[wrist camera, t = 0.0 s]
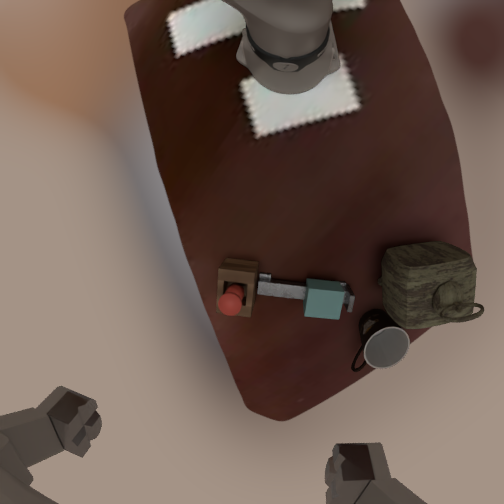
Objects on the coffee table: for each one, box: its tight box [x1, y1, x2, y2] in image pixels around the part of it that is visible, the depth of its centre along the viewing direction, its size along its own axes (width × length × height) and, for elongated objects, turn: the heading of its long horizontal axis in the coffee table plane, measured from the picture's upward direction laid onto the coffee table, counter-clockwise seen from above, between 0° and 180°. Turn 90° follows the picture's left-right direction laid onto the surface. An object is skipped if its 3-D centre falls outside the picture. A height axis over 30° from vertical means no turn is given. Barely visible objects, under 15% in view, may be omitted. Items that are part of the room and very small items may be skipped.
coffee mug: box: [351, 309, 410, 372], centre depth 53 cm, size 12×9×10 cm
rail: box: [257, 272, 355, 312], centre depth 54 cm, size 4×17×6 cm, turn 85°
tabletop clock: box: [378, 241, 484, 329], centre depth 42 cm, size 14×9×25 cm, turn 99°
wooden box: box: [216, 258, 259, 317], centre depth 55 cm, size 8×6×7 cm
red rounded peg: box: [218, 283, 244, 316], centre depth 49 cm, size 4×4×6 cm
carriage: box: [303, 279, 345, 319], centre depth 52 cm, size 5×6×6 cm
